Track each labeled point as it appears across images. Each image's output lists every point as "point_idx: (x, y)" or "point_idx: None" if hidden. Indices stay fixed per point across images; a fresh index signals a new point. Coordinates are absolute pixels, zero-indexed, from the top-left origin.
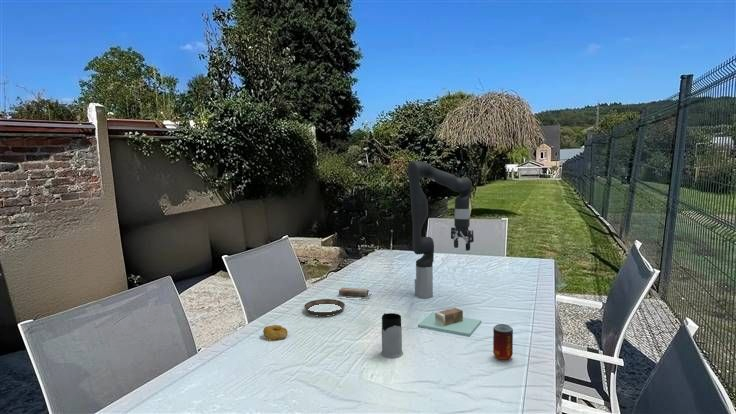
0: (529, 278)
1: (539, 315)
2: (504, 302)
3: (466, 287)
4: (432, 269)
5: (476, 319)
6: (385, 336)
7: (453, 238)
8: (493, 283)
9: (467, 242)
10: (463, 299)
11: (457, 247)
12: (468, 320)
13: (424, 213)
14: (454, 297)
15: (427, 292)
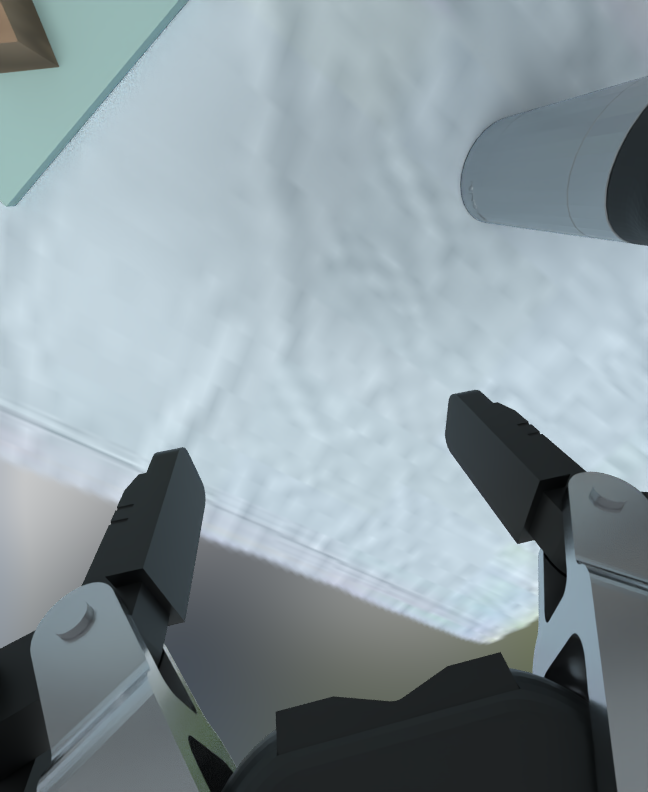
0: (411, 576)
1: (92, 465)
2: (258, 438)
3: None
4: (585, 223)
5: (22, 188)
6: None
7: (646, 513)
8: (438, 496)
9: (41, 623)
10: (357, 325)
11: (447, 433)
12: (3, 125)
13: None
14: (399, 305)
15: (482, 161)
